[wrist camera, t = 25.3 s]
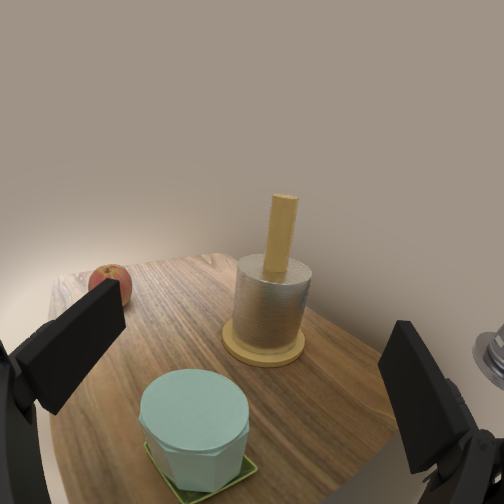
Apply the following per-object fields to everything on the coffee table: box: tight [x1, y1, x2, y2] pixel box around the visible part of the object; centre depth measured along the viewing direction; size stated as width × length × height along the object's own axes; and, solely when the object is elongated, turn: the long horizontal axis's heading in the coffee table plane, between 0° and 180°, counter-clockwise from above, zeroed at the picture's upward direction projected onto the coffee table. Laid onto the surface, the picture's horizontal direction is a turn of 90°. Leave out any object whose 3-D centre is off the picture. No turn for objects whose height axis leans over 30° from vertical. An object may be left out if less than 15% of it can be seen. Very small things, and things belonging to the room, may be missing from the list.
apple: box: [88, 264, 132, 306], centre depth 46 cm, size 9×9×8 cm
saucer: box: [144, 441, 258, 504], centre depth 21 cm, size 9×9×2 cm
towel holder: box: [222, 194, 312, 368], centre depth 40 cm, size 14×14×24 cm
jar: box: [138, 369, 249, 493], centre depth 19 cm, size 8×8×10 cm
